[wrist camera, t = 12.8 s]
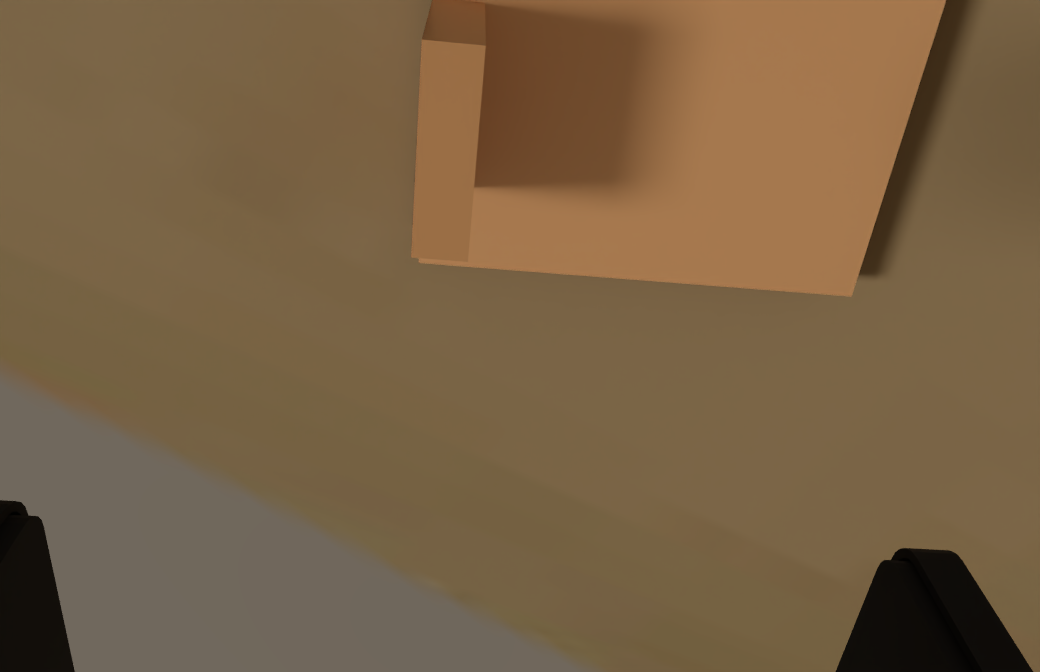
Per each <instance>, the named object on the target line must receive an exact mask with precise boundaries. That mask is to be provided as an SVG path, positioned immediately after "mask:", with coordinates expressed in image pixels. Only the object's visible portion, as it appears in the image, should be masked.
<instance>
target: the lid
mask: <svg viewBox="0 0 1040 672" xmlns="http://www.w3.org/2000/svg"><path fill="white" fill-rule="evenodd" d="M945 3H946V0H432V3H431V7H430V11H429V15H428V18H427V22H426V26H425V30H424V34H423V37H422V49H421V69H420V90H419V110H418V130H417V151H416V171H415V192H414V212H413V233H412V253H411V258H419V263H426V264H439V265H452V266H465V267H478V268H491V269H504V270H517V271H529V272H542V273H555V274H568V275H581V276H594V277H607V278H620V279H633V280H645V281H658V282H671V283H684V284H697V285H710V286H723V287H736V288H748V289H761V290H774V291H787V292H800V293H813V294H826V295H839V296H852V294H853V290H854V287H855V284H856V281H857V278H858V275H859V272H860V269H861V265H862V262H863V259H864V256H865V253H866V250H867V247H868V244H869V240H870V237H871V234H872V231H873V228H874V225H875V222H876V218H877V215H878V212H879V209H880V206H881V203H882V200H883V197H884V193H885V190H886V187H887V184H888V181H889V178H890V175H891V172H892V168H893V165H894V162H895V159H896V156H897V153H898V150H899V146H900V143H901V140H902V137H903V134H904V131H905V128H906V125H907V121H908V118H909V115H910V112H911V109H912V106H913V103H914V100H915V96H916V93H917V90H918V87H919V84H920V81H921V78H922V74H923V71H924V68H925V65H926V62H927V59H928V56H929V53H930V49H931V46H932V43H933V40H934V37H935V34H936V31H937V28H938V24H939V21H940V18H941V15H942V12H943V9H944V6H945Z"/></svg>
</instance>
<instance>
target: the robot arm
mask: <svg viewBox="0 0 1040 672" xmlns="http://www.w3.org/2000/svg"><path fill="white" fill-rule="evenodd" d="M0 672H75V671H74V667H73V662H72V657H71V653H70V648H69V643H68V638H67V634H66V629H65V625H64V620H63V615H62V611H61V605H60V601H59V596H58V591H57V587H56V582H55V577H54V573H53V568H52V563H51V559H50V554H49V549H48V545H47V540H46V535H45V530H44V526H43V523H42V520H41V519H40V518H39V517H38V516H28V513H27V510H26V508H25V506H24V505H23V504H22V503H21V502H16V501H2V500H0ZM836 672H1033V671H1032V669H1031V668H1030V666H1029V665H1028V663H1027V661H1026V660H1025V658H1024V657H1023V655H1022V654H1021V652H1020V650H1019V649H1018V647H1017V646H1016V644H1015V643H1014V641H1013V639H1012V638H1011V636H1010V635H1009V633H1008V632H1007V630H1006V628H1005V627H1004V625H1003V624H1002V622H1001V621H1000V619H999V617H998V616H997V614H996V613H995V611H994V610H993V608H992V606H991V605H990V603H989V602H988V600H987V599H986V597H985V595H984V594H983V592H982V591H981V589H980V588H979V586H978V584H977V583H976V581H975V580H974V578H973V577H972V575H971V573H970V572H969V570H968V569H967V567H966V566H965V564H964V562H963V561H962V560H961V559H960V557H959V556H958V555H957V554H956V553H954V552H952V551H948V550H929V549H910V548H902V549H899V550H898V551H897V552H895V554H894V555H893V557H892V559H891V560H884V561H883V562H881V563H880V565H879V567H878V568H877V571H876V573H875V576H874V578H873V581H872V583H871V586H870V588H869V591H868V593H867V595H866V598H865V600H864V603H863V605H862V608H861V610H860V613H859V615H858V618H857V620H856V623H855V625H854V628H853V630H852V633H851V635H850V638H849V640H848V643H847V645H846V647H845V650H844V652H843V655H842V657H841V660H840V662H839V665H838V667H837V670H836Z"/></svg>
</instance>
